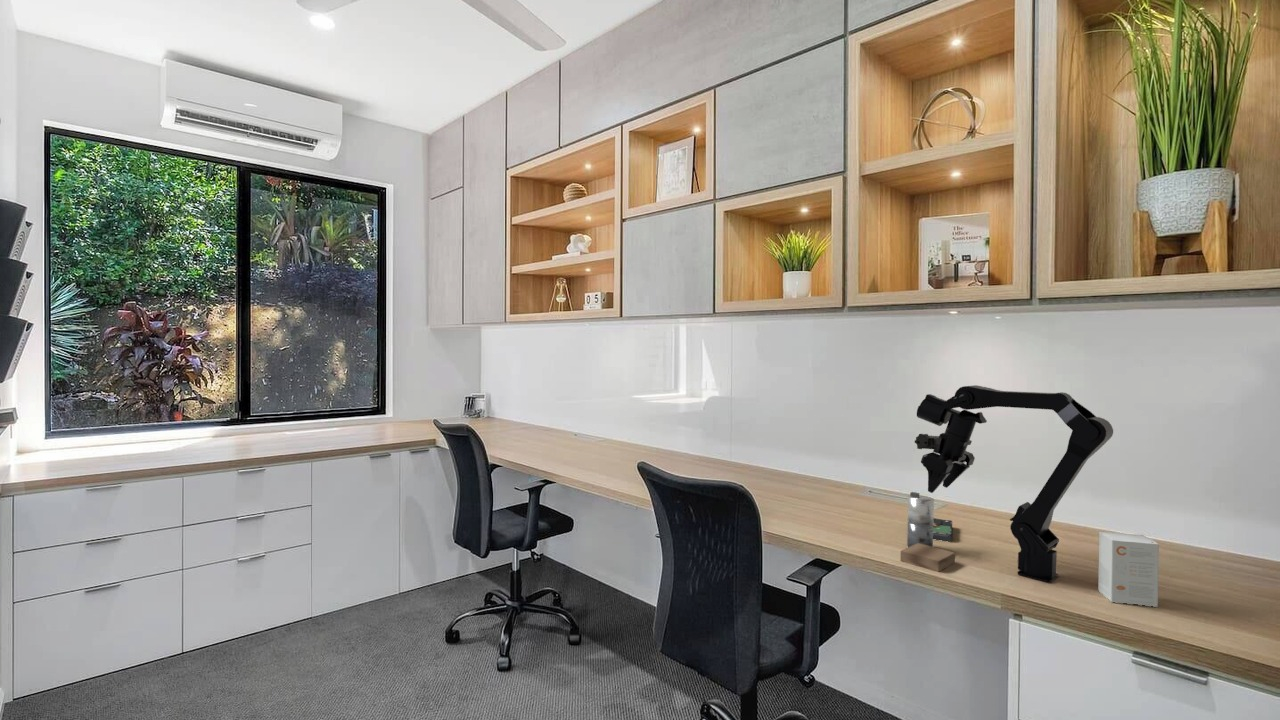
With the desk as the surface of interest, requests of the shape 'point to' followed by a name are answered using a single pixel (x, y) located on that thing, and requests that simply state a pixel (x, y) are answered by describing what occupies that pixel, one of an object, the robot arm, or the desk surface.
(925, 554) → the stand
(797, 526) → the desk surface
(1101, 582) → the small box
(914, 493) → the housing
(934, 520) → the disk drive
